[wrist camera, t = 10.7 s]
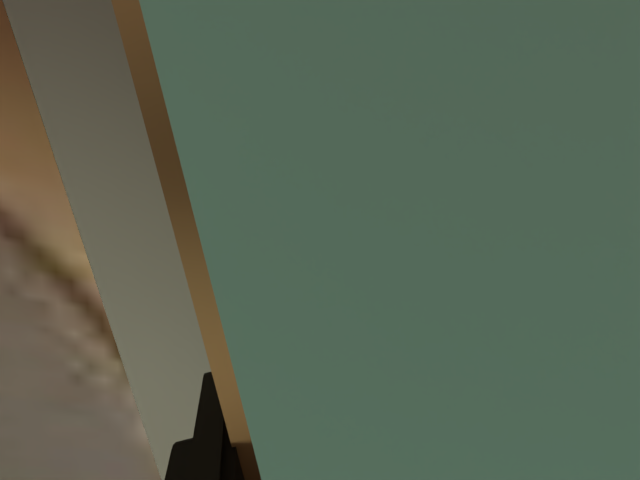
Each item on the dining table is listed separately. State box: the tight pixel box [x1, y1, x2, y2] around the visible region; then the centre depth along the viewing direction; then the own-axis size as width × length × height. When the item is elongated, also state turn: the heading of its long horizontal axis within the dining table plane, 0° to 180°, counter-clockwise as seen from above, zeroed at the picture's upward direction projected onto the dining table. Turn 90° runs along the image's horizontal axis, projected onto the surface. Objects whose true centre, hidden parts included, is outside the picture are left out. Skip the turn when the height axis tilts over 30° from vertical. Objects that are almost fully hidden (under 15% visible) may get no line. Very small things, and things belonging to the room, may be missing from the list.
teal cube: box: [139, 0, 640, 480], centre depth 4 cm, size 4×4×4 cm
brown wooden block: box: [111, 0, 261, 480], centre depth 9 cm, size 22×6×4 cm, turn 9°
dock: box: [3, 0, 211, 480], centre depth 14 cm, size 26×13×4 cm, turn 9°
